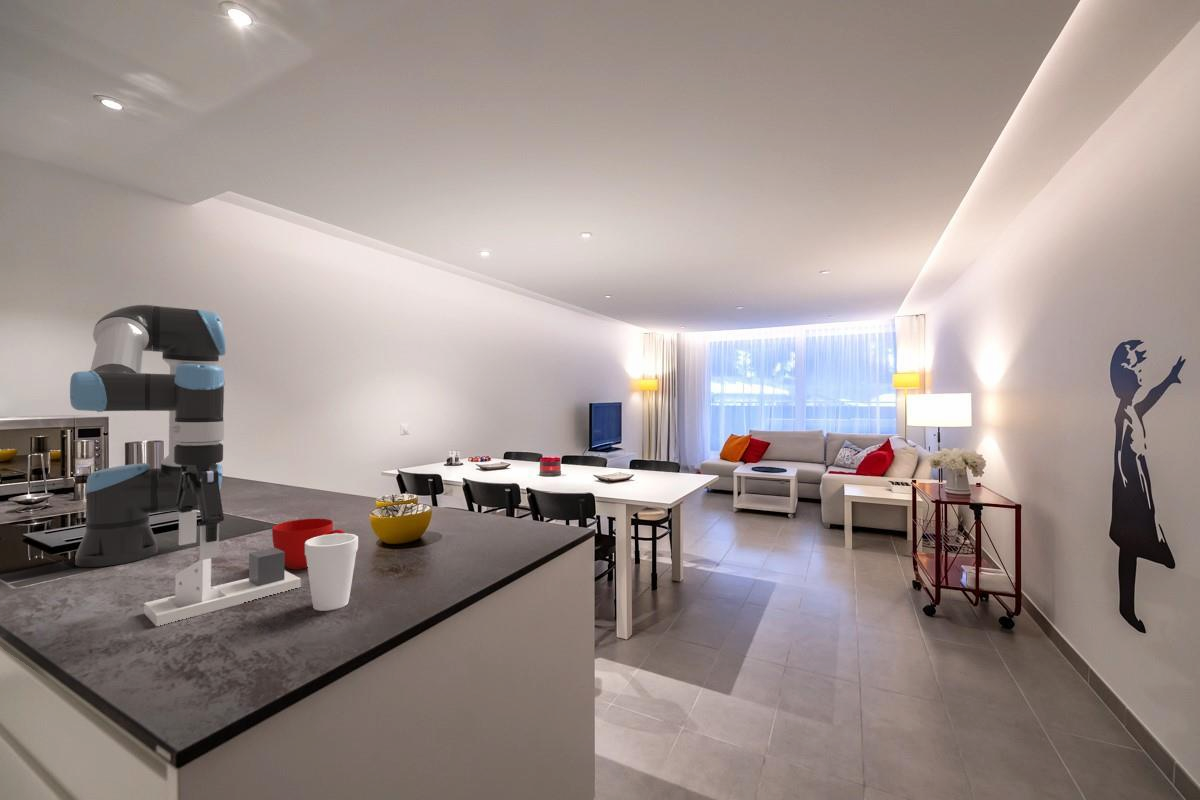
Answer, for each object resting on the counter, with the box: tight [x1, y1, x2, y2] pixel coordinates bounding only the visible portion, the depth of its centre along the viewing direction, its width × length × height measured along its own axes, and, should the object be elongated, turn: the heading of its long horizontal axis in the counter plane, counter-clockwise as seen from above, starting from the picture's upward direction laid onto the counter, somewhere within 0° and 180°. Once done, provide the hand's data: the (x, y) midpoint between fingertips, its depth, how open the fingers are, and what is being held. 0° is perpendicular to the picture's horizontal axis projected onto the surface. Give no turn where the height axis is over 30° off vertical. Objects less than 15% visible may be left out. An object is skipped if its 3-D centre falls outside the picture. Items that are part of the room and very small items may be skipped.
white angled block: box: [174, 558, 219, 608], centre depth 98 cm, size 4×10×9 cm, turn 84°
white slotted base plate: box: [143, 547, 302, 627], centre depth 102 cm, size 9×24×8 cm, turn 143°
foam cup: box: [305, 532, 359, 612], centre depth 101 cm, size 10×9×13 cm
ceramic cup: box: [271, 518, 345, 570], centre depth 124 cm, size 13×17×10 cm
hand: (197, 550), depth 98 cm, fingers open, 13 cm apart
